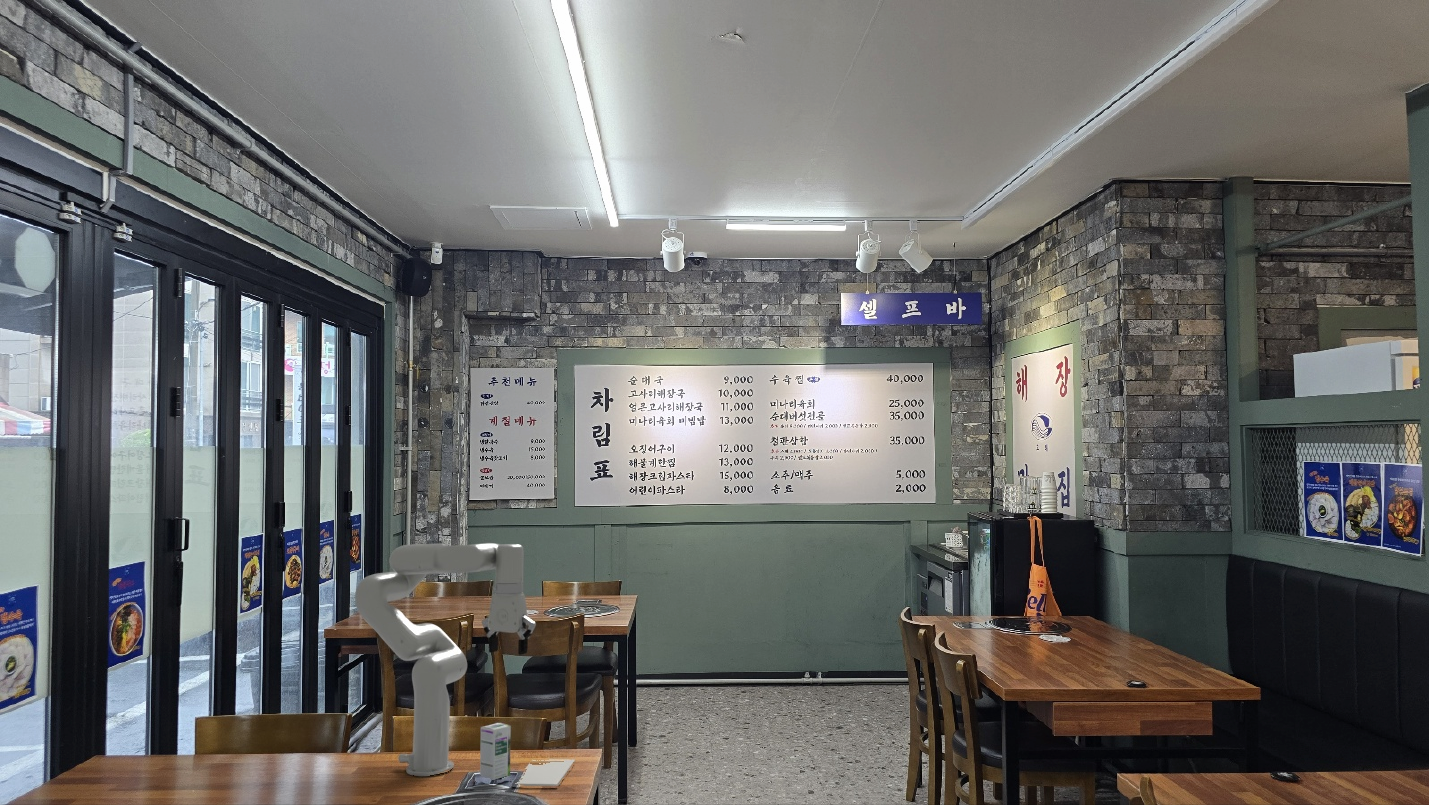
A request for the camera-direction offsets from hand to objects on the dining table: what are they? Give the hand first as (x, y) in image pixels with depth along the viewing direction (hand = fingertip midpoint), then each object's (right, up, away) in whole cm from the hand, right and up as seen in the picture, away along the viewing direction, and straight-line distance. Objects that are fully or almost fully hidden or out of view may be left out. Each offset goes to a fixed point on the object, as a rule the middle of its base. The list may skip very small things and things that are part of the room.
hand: (507, 652), depth 243 cm
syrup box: (-2, -33, -7) cm, 33 cm away
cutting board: (+10, -33, -2) cm, 35 cm away
